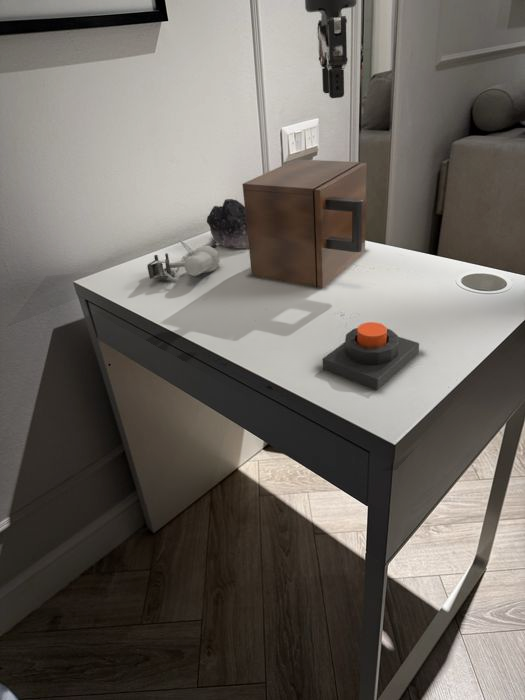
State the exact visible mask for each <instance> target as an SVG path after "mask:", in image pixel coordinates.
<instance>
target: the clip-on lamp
mask: <svg viewBox="0 0 525 700" xmlns="http://www.w3.org/2000/svg"><path fill="white" fill-rule="evenodd" d="M178 241H179V242H180V243H181V245H182V247H184V248H185V250H186V251H187V252H188V253H189V254H191V256H189V257H186V256H185V255H183V256H182V257H181V260H180V261H178V262H170V258H169V254H168V253H164V255H165V256H164V257H165V259H163V260H159V256H158V254H154V256H153V257H154V260H152V261H151V262H149V263H148V264H147V265H146V266H147V272H148V276H149V279H150V280H153V279H155V278H158V277H168V278H169V279H171V280H172V281H177V280H178V275H177V273H178V272H179V271H180V268H184V271H186V273H187V274H188V275H190V276H193V277H195V276H198V275H201V274H204V273H211V272H214V271H215V270H216V269H217V268H218V266H219V264H220V256H219V253H218V251H217V250H216V249H215V248H217V246H221V245H220V243H213V244H212V245H210V246H209V245H201V246H198V247H196V248H195V249H194V250H193V249H192V248H191V247H190V246H188V244H186V243H185V242H184V241H183V240H181V238H179V239H178ZM164 264H165V267H164ZM172 269H175V270H173V271H172ZM171 274H172V275H171ZM173 275H174V277H173Z"/></svg>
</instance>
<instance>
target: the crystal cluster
mask: <svg viewBox="0 0 525 700" xmlns="http://www.w3.org/2000/svg"><path fill="white" fill-rule="evenodd" d="M206 223H207V224H208V226H209V229H210V234H211V235H212V238H213V240H214V242H215V244H217V243H220V245H219V246H222V247H224V248H228V249H229V248H236V249H249V243H248V233H247V224H246V214H245V205H244V204H243V203H241V202H240V201H239V200H236V199H233V198H227V199H226V198H225V199H224V201H223V203H222V205H220V206H219V205H214V206H213V207H212V208H211V210H210V213H209V214H208V215H207V216H206Z"/></svg>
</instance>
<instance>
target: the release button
mask: <svg viewBox="0 0 525 700" xmlns="http://www.w3.org/2000/svg"><path fill="white" fill-rule="evenodd" d="M356 328H357V342H358V344H359V345H362V346H365V347H380V346H384V345H385V344H386V340H387V329H388V328H387V326H385V325H384V324H382V323H379V322H373V321H371V322H370V321H369V322H364V323H361V324H360V325H358V327H356Z"/></svg>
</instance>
